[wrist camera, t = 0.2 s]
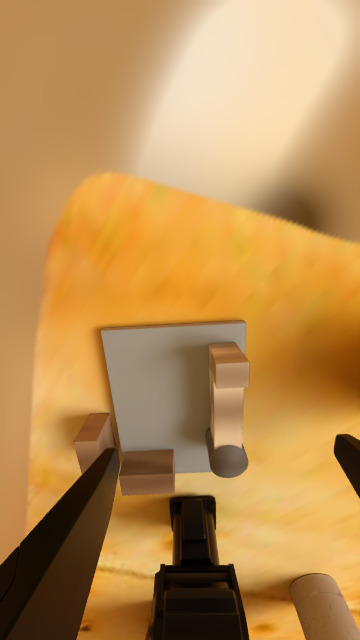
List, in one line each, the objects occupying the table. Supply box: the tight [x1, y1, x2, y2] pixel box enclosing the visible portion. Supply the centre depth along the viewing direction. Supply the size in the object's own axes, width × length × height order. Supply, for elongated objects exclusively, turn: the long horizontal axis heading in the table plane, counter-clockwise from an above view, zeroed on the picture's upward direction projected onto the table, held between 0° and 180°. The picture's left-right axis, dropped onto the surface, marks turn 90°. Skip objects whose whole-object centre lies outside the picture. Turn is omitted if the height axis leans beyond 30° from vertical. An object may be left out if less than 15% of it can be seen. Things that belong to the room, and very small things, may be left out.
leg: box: [205, 342, 250, 478], centre depth 21 cm, size 14×4×4 cm, turn 3°
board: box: [101, 320, 246, 473], centre depth 24 cm, size 20×15×1 cm
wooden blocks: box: [74, 413, 175, 496], centre depth 24 cm, size 8×10×4 cm
